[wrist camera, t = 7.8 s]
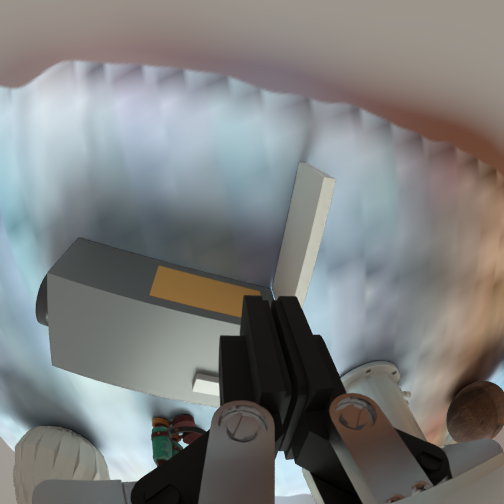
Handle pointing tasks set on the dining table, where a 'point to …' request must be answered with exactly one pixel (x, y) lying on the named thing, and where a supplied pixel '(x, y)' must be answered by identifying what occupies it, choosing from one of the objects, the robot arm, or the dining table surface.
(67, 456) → the vase
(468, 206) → the dining table surface
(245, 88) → the dining table surface
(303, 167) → the side door
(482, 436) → the wooden sphere
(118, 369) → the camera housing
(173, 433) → the binoculars
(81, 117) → the dining table surface
